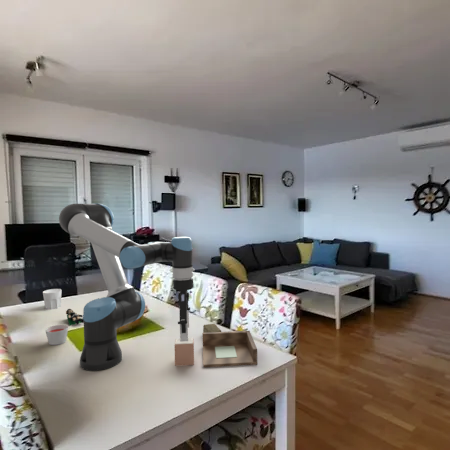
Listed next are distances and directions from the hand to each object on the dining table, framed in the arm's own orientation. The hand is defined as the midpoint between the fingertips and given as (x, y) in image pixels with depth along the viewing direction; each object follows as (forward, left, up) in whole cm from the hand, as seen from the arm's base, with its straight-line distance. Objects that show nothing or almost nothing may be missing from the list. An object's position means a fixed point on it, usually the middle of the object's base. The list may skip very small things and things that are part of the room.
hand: (185, 333), depth 124 cm
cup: (-82, +79, -11) cm, 115 cm away
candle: (-57, +25, -11) cm, 64 cm away
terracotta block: (0, 0, -11) cm, 11 cm away
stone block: (+11, +22, -11) cm, 27 cm away
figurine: (-60, +51, -11) cm, 79 cm away
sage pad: (+16, +5, -10) cm, 19 cm away
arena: (+17, +4, -11) cm, 20 cm away
